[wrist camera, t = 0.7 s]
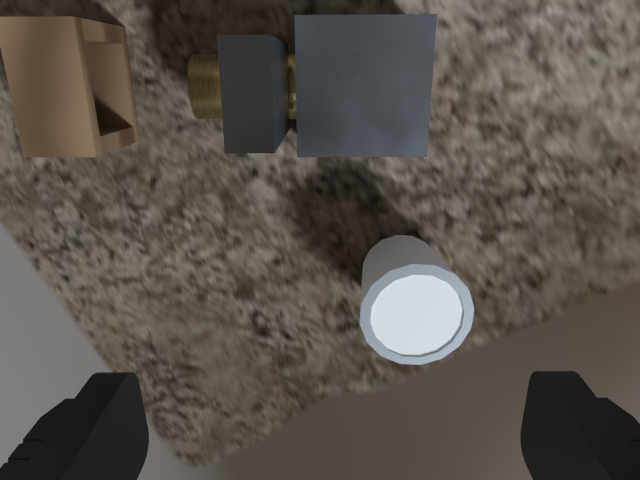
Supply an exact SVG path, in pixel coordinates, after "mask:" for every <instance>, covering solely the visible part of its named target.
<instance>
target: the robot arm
mask: <svg viewBox="0 0 640 480" xmlns="http://www.w3.org/2000/svg"><path fill="white" fill-rule="evenodd" d="M148 444H149V433H148V426H147V421H146V416H145V410H144V405H143V400H142V395H141V390H140V385H139V380H138V377H137V375H136V374H135V373H133V372H122V373H95V374H93V375H92V376H91V377H90V378H89V380H88V381H87V383H86V384H85V385H84V387H83V388H82V389H81V391H80V392H79V393H78V395H77V396H76V397H75V399H65V400H63V401H62V402H61V403H59V404H58V405H57V406H55V407H54V408H53V409H51V410H50V411H49V412H47V413H46V414H44V415H43V416H42V417H41V418H40V419H39V420H38V421H37V423H36V424H35V425H34V426H33V428H32V429H31V430H30V431H29V433H28V434H27V435H26V436H25V438H24V439H23V443H22V444H19V445H18V447H17V448H16V449H15V450H14V452H13V453H12V454H11V455H10V457H9V458H8V462H7V463H4V464H3V466H2V467H1V468H0V480H137V478H138V476H139V474H140V472H141V469H142V467H143V465H144V462H145V459H146V456H147V450H148ZM521 448H522V453H523V457H524V460H525V463H526V465H527V468H528V470H529V472H530V474H531V476H532V478H533V480H640V424H639V423H638V422H637V420H636V419H635V418H634V417H633V416H632V415H630V414H629V413H627V412H626V411H625V410H623V409H622V408H620V407H619V406H618V405H616V404H615V403H613V402H612V401H611V400H609V399H608V398H597V397H596V396H595V395H594V393H593V392H592V391H591V389H590V388H589V387H588V386H587V384H586V383H585V382H584V380H583V379H582V378H581V377H580V376H579V374H577V373H576V372H574V371H536V372H533V373H532V375H531V377H530V380H529V386H528V392H527V398H526V404H525V409H524V415H523V421H522V427H521Z"/></svg>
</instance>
